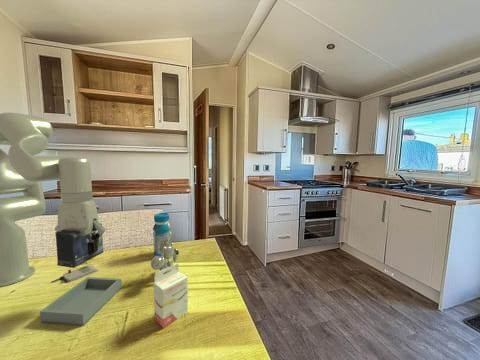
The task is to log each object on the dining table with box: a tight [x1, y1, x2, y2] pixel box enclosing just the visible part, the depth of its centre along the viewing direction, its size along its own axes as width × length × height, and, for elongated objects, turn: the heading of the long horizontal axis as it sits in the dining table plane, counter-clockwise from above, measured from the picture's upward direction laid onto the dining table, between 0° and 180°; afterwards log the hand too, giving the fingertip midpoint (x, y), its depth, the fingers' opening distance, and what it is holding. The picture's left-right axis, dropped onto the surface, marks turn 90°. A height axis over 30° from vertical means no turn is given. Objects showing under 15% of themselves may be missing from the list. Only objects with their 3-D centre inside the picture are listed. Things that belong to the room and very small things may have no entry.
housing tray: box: [39, 276, 123, 327], centre depth 67 cm, size 13×17×4 cm
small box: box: [55, 222, 104, 269], centre depth 65 cm, size 11×6×10 cm, turn 169°
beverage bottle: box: [152, 212, 172, 257], centre depth 100 cm, size 8×8×20 cm
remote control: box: [51, 264, 99, 284], centre depth 83 cm, size 7×16×3 cm, turn 146°
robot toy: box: [150, 238, 180, 275], centre depth 81 cm, size 15×6×15 cm, turn 165°
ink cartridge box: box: [153, 262, 189, 329], centre depth 62 cm, size 9×5×15 cm, turn 141°
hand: (81, 252), depth 66 cm, fingers closed on small box, 6 cm apart
